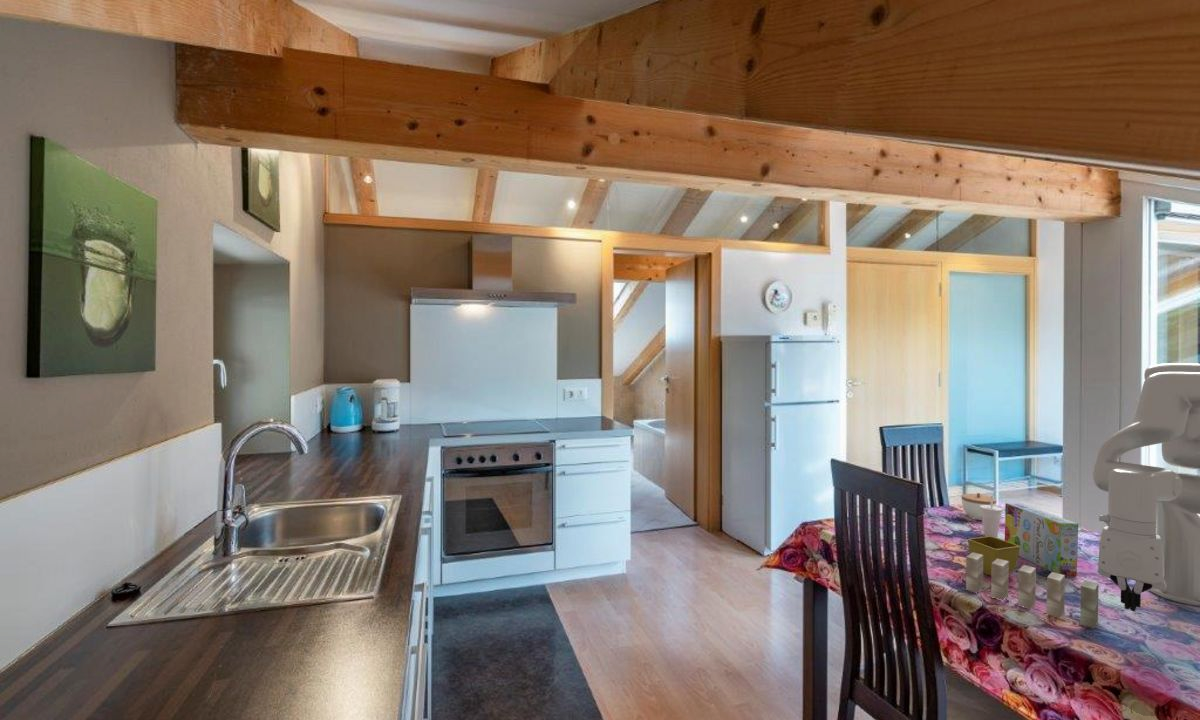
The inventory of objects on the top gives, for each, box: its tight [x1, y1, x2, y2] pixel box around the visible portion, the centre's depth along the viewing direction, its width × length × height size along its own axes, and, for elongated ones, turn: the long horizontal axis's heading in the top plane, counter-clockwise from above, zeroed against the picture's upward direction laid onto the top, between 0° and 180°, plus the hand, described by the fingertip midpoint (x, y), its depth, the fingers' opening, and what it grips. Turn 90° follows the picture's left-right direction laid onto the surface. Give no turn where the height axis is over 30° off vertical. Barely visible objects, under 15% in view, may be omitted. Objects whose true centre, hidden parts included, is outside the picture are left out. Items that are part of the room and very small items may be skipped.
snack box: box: [1004, 502, 1079, 577], centre depth 158 cm, size 21×6×15 cm, turn 179°
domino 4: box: [1046, 572, 1066, 619], centre depth 127 cm, size 2×5×9 cm, turn 129°
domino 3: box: [1017, 564, 1037, 610], centre depth 131 cm, size 2×5×9 cm, turn 129°
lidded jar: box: [961, 492, 997, 521], centre depth 200 cm, size 11×11×9 cm
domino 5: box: [1079, 579, 1100, 630], centre depth 122 cm, size 2×5×9 cm, turn 130°
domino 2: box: [990, 558, 1010, 600], centre depth 135 cm, size 2×5×9 cm, turn 129°
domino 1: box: [965, 552, 984, 592], centre depth 139 cm, size 2×5×9 cm, turn 129°
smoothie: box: [980, 494, 1003, 538], centre depth 181 cm, size 6×6×14 cm
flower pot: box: [967, 536, 1020, 577], centre depth 149 cm, size 9×9×9 cm
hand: (1130, 607), depth 117 cm, fingers closed
